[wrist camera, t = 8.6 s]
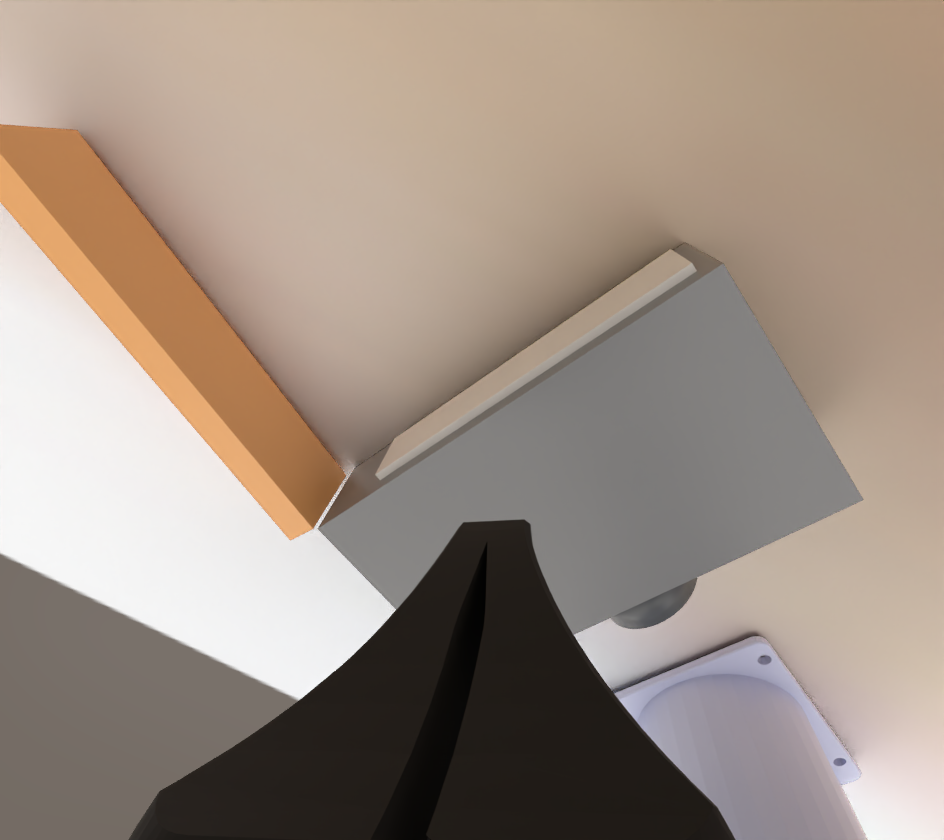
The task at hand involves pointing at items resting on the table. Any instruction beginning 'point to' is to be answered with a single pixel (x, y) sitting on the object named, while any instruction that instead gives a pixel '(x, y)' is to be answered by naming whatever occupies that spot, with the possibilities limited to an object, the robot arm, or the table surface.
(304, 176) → the table surface
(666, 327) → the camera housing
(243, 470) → the orange piece
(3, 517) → the table surface
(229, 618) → the table surface
